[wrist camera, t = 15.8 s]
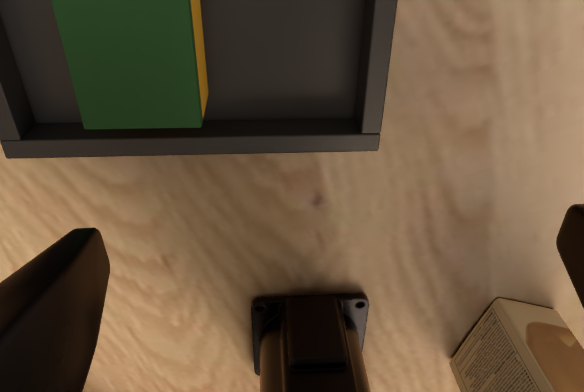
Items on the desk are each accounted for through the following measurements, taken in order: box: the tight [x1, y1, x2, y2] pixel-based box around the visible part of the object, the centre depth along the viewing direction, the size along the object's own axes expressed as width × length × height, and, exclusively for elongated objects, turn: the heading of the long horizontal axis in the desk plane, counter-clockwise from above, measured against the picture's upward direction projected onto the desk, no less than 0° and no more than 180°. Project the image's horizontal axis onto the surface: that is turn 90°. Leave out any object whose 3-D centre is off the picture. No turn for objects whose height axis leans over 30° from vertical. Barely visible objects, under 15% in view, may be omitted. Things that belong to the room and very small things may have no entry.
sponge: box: [51, 0, 208, 129], centre depth 16 cm, size 4×6×3 cm, turn 179°
